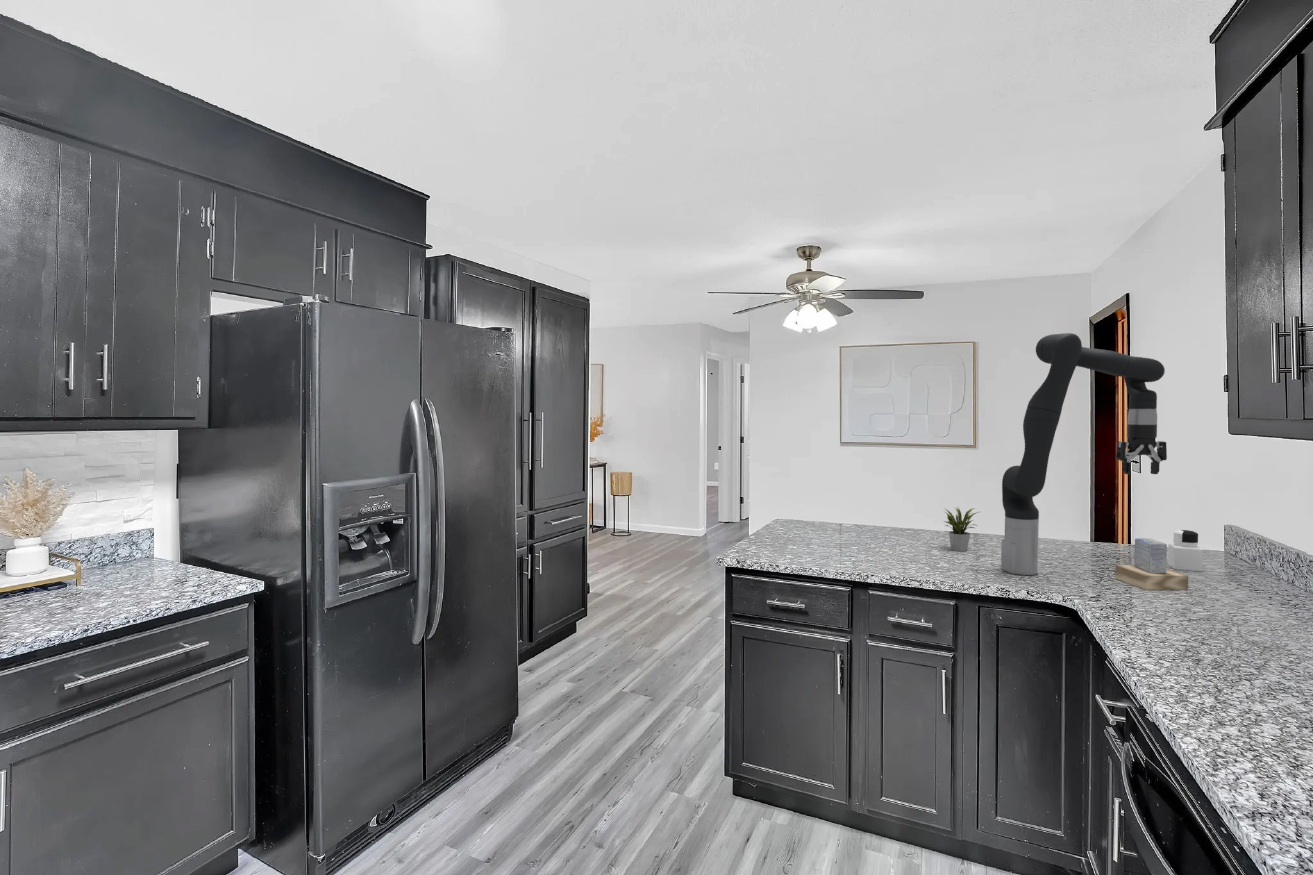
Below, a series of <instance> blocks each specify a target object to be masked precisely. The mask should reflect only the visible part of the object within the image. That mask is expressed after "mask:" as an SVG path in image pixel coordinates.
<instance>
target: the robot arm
mask: <svg viewBox="0 0 1313 875" xmlns="http://www.w3.org/2000/svg"><path fill="white" fill-rule="evenodd" d="M1035 354H1036V357H1037V358H1038V359H1039V360H1040V361H1042V362H1043V363H1045V364H1050V367H1049V371H1048V373H1047V376H1046V377H1045V380H1044V381H1043V382H1042V384H1041V386H1039V387H1038V389H1037V390H1036V391H1035V392H1034V394H1033V395H1032V396H1031V398H1030V400H1029V401H1028V403H1027V405H1026V406H1027V408H1026V410H1025V414H1024V417H1023V422H1022V423H1023V424H1022V432H1023V438H1024V452H1023V456H1022V458H1021V462H1020V464H1019V465H1013V466H1009V467H1008V468H1007V469H1006V470H1005V472H1004V474H1003V476H1002V479H1001V480H1002V481H1001V494H1002V495H1001V496H1002V497H1001V499H1002V500H1001V502H1002V507H1003V510H1004V539H1001V548H1000V549H1001V552H1000V553H1001V556H1000V559H1001V560H1000V562H1001V563H1000V565H1001V566H1000V570H1003V571H1005V572H1007V573H1009V574H1011V575H1012V574H1013V575H1022V576H1033V575H1037V574H1038V571H1039V570H1038V567H1039V566H1038V565H1039V531H1040V530H1039V528H1040V525H1039V524H1040V523H1039V521H1040V520H1039V519H1040V511H1039V509H1038V507H1037V506H1036V505H1035V502H1034V500H1033V499H1034V497H1037V496H1038V495H1039V494H1040V493H1041V492H1042V490H1043V489H1044V487H1045V484H1046V478H1047V470H1048V464H1049V458H1050V454H1051V450H1052V446H1053V443H1054V439H1055V435H1056V431H1057V428H1058V425H1059V422H1060V419H1061V414H1062V410H1063V405H1064V403H1065V398H1066V396H1067V392H1068V390H1069V389H1068V388H1069V386H1070V384H1071V380H1072V377H1073V376H1074V372H1075V370H1076V368H1077V367H1079V368H1084V369H1088V370H1092V371H1095V372H1100V373H1103V374H1107V375H1111V376H1115V377H1119V378H1120V377H1122V378H1123V379H1124V383H1125V387H1126V390H1127V393H1128V396H1129V397H1128V400H1129V401H1128V413H1127V426H1126V427H1127V434H1126V436H1127V441H1117V443H1116V453H1115V455H1116V456H1115V459H1116V461H1121V462H1122V466H1121V468H1122V473H1123V474H1125V475H1131V472H1132V471H1131V470H1132V469H1131V468H1132V462H1131V461H1132V460H1133V459H1134V458H1136V457H1137V456H1146V457H1148V458H1149V460H1150V461H1151V462H1150V474H1152V475H1158V474H1159V473H1160V463H1161V462H1163V461H1167V459H1168V456H1167V453H1168V451H1167V442H1166V441H1161V440H1158V441H1157V440H1156V439H1157V437H1158V411H1157V406H1158V403H1157V402H1158V395H1157V392H1156V391H1154V390H1151V389H1148V388H1147V385H1146V383H1153V382H1157V381H1159V380H1160V379H1162V378H1163V376H1164V374H1165V372H1166V371H1165V366H1164V365H1163V363H1162V362H1160V361H1159V360H1157V359H1154V358H1149V357H1141V356H1134V355H1133V356H1132V355H1128V354H1125V353H1121V352H1118V351H1113V350H1109V349H1108V350H1107V349H1099V348H1092V347H1085V346H1084V347H1083V344H1082V340H1081V338H1080V336H1079V335H1077V334H1075V333H1072V332H1070V333H1069V332H1068V333H1052V334H1048V335H1045V336H1044V337H1041V339H1039V340H1038V342H1037V343H1036V346H1035ZM1127 448H1128V449H1127ZM1155 448H1156V450H1155Z"/></svg>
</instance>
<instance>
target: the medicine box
mask: <svg viewBox="0 0 1313 875" xmlns="http://www.w3.org/2000/svg"><path fill="white" fill-rule="evenodd" d="M1167 549H1168V544H1167V543H1165V542H1162V541H1160V540H1156V539H1153V538H1145V537H1141V538H1140V537H1138V538H1134V560H1133V561H1134V562H1133V563H1134V566H1135V567H1137V568H1140V569H1142V570H1145V571H1147V572H1150V573H1164V574H1165V573H1167V569H1168V568H1167V565H1168V550H1167Z"/></svg>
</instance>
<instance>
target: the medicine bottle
mask: <svg viewBox="0 0 1313 875" xmlns="http://www.w3.org/2000/svg"><path fill="white" fill-rule="evenodd" d="M1172 540H1173V541H1172V542H1169V543H1168V544H1167V549H1168V550H1167V565H1168V566H1169V567H1171V568H1172V569H1174V570H1176V571H1177V570H1178V571H1189V572H1191V571H1192V572H1203V567H1204V566H1203V561H1204V560H1203V559H1204V549H1203V548H1201V547H1200V546H1198V545H1199V533H1198V532H1195V531H1193V530H1188V529H1177V530H1174V531H1173V539H1172Z"/></svg>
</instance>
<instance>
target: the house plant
mask: <svg viewBox="0 0 1313 875" xmlns="http://www.w3.org/2000/svg"><path fill="white" fill-rule="evenodd" d="M975 509H976V508H974V507H973V508H970V509H969V510H967V511H966V512H965V514H964V516H962V512H961V510H960V507H959V506H957V507H955V511H956V515H955V516H954V514H953V513H952V512H951V511H950V510H948V509H946V508H944V510H945V511H944V513H945V514H946V516H947V517H946V518H947V520H948V521H946V520H945V521H943V522H944V523H945V525H944V527H948V528H951V530H952V531H951V530H950V531H948V535H949V541H950V542H949V543H950V548H951V550H952V551H954V552H967V551H968V548H969V542H970V537H971V532H968V531H967V529H975V527H974V526H976V527H978V525H977V524H975V523H973V524H970V523H971V522H973V521H974V519H973V520H972V518H973V516H974V515H976V514H977V513H980V511H977V512H974V513H973V512H972V511H973V510H975ZM950 525H951V526H952V527H951V526H950Z"/></svg>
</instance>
